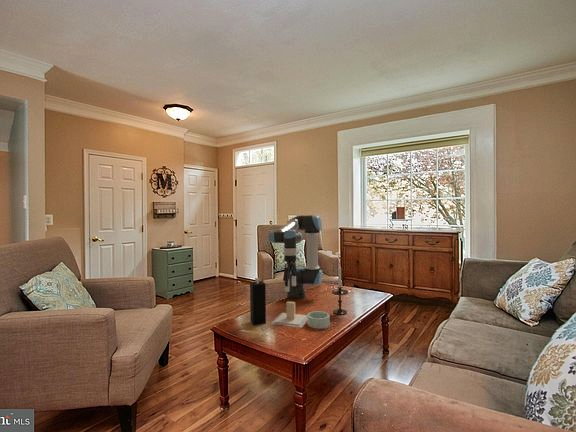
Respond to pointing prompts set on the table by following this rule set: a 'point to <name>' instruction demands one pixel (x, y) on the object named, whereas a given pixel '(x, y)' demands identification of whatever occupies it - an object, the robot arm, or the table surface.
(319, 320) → the bowl
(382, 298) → the table surface
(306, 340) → the table surface
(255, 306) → the black block
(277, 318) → the mat
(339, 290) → the candlestick
